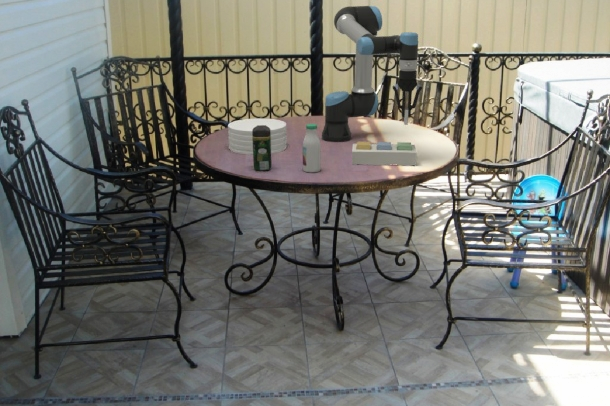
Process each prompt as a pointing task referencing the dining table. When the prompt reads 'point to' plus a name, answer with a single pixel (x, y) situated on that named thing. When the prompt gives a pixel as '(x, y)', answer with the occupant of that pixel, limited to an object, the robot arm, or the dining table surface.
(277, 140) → the plate stack
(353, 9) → the robot arm
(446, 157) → the dining table surface
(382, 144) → the key blue
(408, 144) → the key sage
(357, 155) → the key panel
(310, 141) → the milk bottle
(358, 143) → the key ochre
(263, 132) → the coffee jar
